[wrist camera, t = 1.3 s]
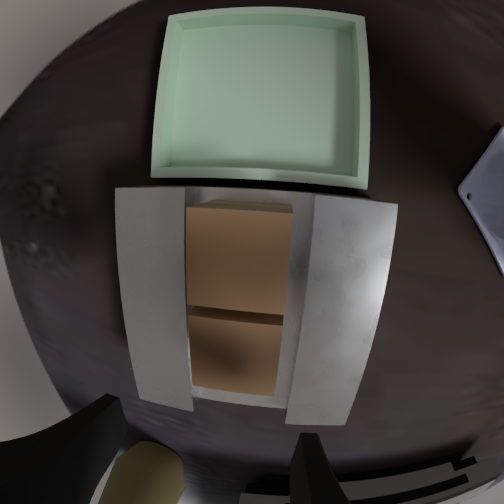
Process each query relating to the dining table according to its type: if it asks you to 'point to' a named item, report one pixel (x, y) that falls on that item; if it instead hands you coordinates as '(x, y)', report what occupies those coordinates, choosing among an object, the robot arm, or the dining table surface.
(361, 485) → the game console
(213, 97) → the tray
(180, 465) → the squeeze bottle
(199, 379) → the chip
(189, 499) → the dining table surface
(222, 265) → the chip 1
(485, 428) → the dining table surface
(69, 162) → the dining table surface
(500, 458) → the dining table surface
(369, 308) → the slot block
